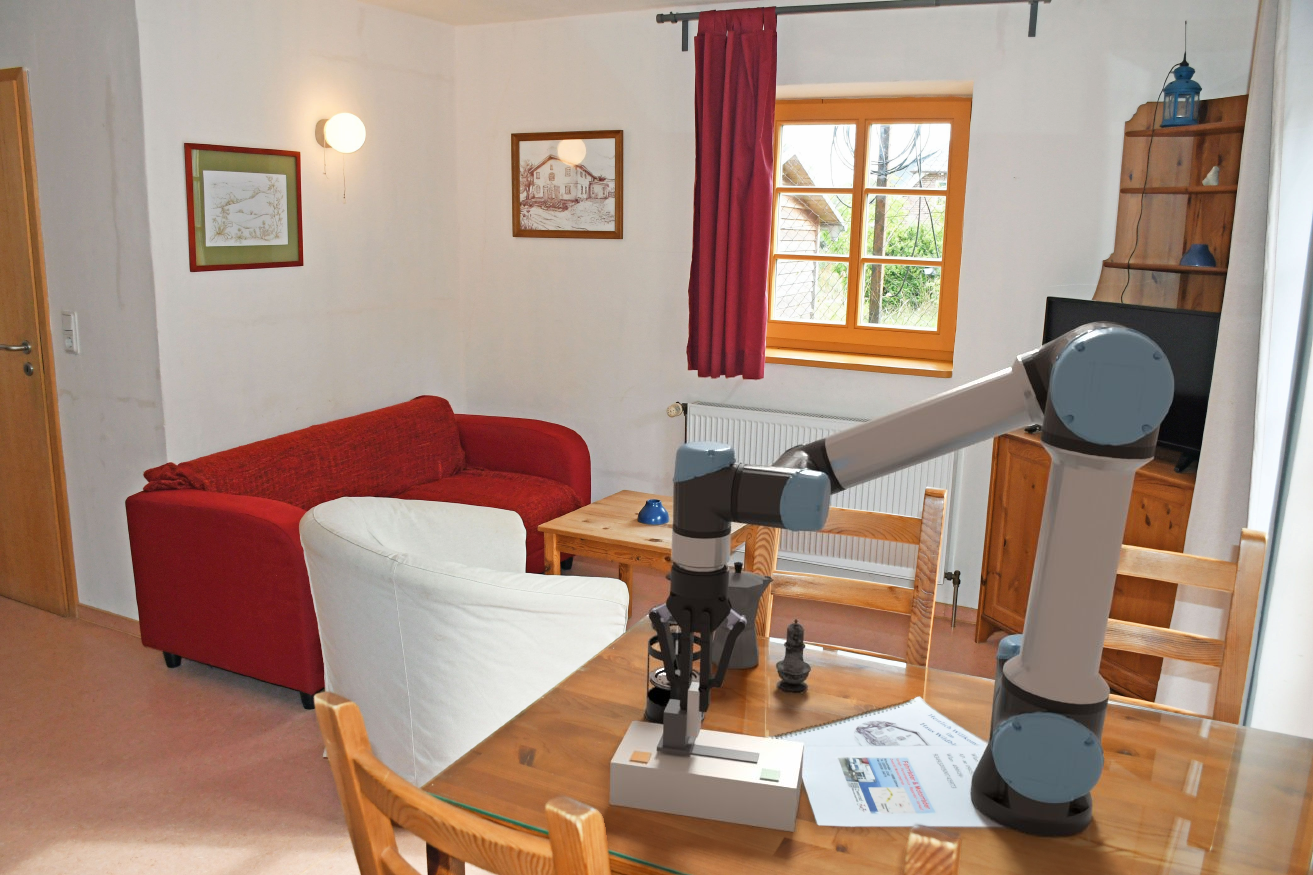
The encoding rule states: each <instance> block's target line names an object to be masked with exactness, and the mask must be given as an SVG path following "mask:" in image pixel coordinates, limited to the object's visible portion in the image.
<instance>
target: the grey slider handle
mask: <svg viewBox="0 0 1313 875" xmlns="http://www.w3.org/2000/svg"><path fill="white" fill-rule="evenodd" d="M665 707H666V708H665V710H664V719H663V734H662V737H661V739H660V741H659V743H658V745H657V751H659V752H667V753H674V754H681V755H688V756H689V755H690V753H691V750H692V748H693V745H694V742H695V740H696V737H688V736H686V732H687V710H682V709H681V708H680V700H675V699H670V700H669V702H668V704H666V706H665Z"/></svg>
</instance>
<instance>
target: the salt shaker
mask: <svg viewBox="0 0 1313 875" xmlns="http://www.w3.org/2000/svg"><path fill="white" fill-rule="evenodd" d="M798 622H799V621H798V619H797V618H795V619H794V620H793V623H790V624H788V626H787V627H786V641H785V642H784V643H783V645H784V648H785V652H784V653H785V654H784V658H783V659H782V660H779V661H777V663H776V664H775V668H776V669H777V674H778V677H779V678H780V679H781V680H779V681H778V682H777V683H776V688H777V689H778V690H780V691H781V692H784V693H787V694H793V695H794V694H795V695H796V694H803V693H806V692H807V691H808V690H809V685H808V683H806V682H805V681H806V680H807V679H808V678H809V675H810V672H811V671H812V666H811V665H810V664H809V663H807V662H805V661H804V649H805V648H806V644H805V643H804V636H805V628H804V626H803V625H802V624H800V623H798Z"/></svg>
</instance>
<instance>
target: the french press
mask: <svg viewBox="0 0 1313 875" xmlns="http://www.w3.org/2000/svg"><path fill="white" fill-rule="evenodd" d="M665 579H666V580H668V581H670V582H671V572H669V573H668V574H665ZM663 604H664V603H660V604H657V605H655V606H661V605H663ZM655 606H652V607H651V608H650V609H649V611H648V615H649V614H650V612H651V611H652V609H653V608H654V607H655ZM668 622H669V625H670V627H673V626H675V628H672V629H670V630H671V634H672V639H673V644H674V649H675V653H676V658H677V663H678V668H679V670H680V664H681V628H680V627H679V626H678V624H677V623H676V621H675V620H674V618H673V616H672V615H671V613H670V612H669V619H668ZM650 623H651V624H650V626H651V629H652V630H654V631H655V632H657V631H656V628H655V627H654V625H653V623H652V622H651V621H650ZM695 633H698V632H695ZM698 634H699V633H698ZM647 641H648V642H647V666H646V667H647V670H646V677H647V678H646V706H645V710H644V717H645V719H646V720H647V722H649V723H657V724H663V719H664V710H665V708H666V706H665V705H667V704H668V702H669V700H670V699H675V700H680V686H679V685H678V684H677V683H675V682H669V681H668V680H667V678H666V673H665V669H664V666H660V667H657V668H655V669H653V670H652V671H650V656H651V657H652V658H654V659H656V660H658V661H661V662H663V659H662V655H661V650H657V649H655V648H653V645H656V644H659V641H658V636H657V634H655V635H652V636H651V637H650V638H649V639H648V640H647ZM694 644H696V645H697V646H699V647H701V641H700V636H698V635H696V634H694ZM700 652H701V649H700V650H698V651H695V652H694V651H693V662H697V661H700ZM692 675H693V677H692V680H691V683H692V682H699V678H700V671H698V670H697V669H696V668H695V669H694V668H693V670H692ZM649 682H650V683H649ZM649 684H651V685H652V687H651V688H650V689H649ZM705 717H706V712H702V715H701V723H703V721H705V719H706V718H705Z"/></svg>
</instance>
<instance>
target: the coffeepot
mask: <svg viewBox="0 0 1313 875" xmlns="http://www.w3.org/2000/svg"><path fill="white" fill-rule="evenodd" d="M733 565H734V570H733V569H732V570H731V569H729V589H728V597H729V600H730V602H731V605H732V610H733V611H735V612H736V613H737V614H739V615H740V616H741V615H745V616H746V617H747V619H748V621H747V624H746V626H745V628H744V630H743V631H742V632H741V634H740V635H739V636H738V637H737V640H736V644H735V647H734V650H733V653H732V656H731V660H730V663H729V666H728V669H731V670H745V669H749V668H754V667H756V666H757V665H758V664H759V661H760V652H759V643H758V636H757V635H758V634H757V625H756V619H757V615H758V610H759V604H760V599H761V598H762V596H763V594H764V593H765V591H766V590H767V588H768V587H769V585H770V584H771V583H772V582H774V581H775V580H774V579H773V578H772V577H771V576H768V575H765V574H756V573H755V572H752V571H746V570H745V571H744V570H742V568H743V566H744V563H743V562H741V561H736V562H735V561H734V563H733ZM727 624H728V619H727V617H726V618H725V620H724V621H723V622H722V623H721V624H720V625H719V626H718V628H717V629H716V630H715V631H714V634H713V652H712V664H714V665H716V666H718V665H719V662H720V658H721V655H722V652H723V649H724V645H725V642H726V639H727V636H728V634H729V631H730V629H728V627H727ZM728 669H727V670H728Z"/></svg>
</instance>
